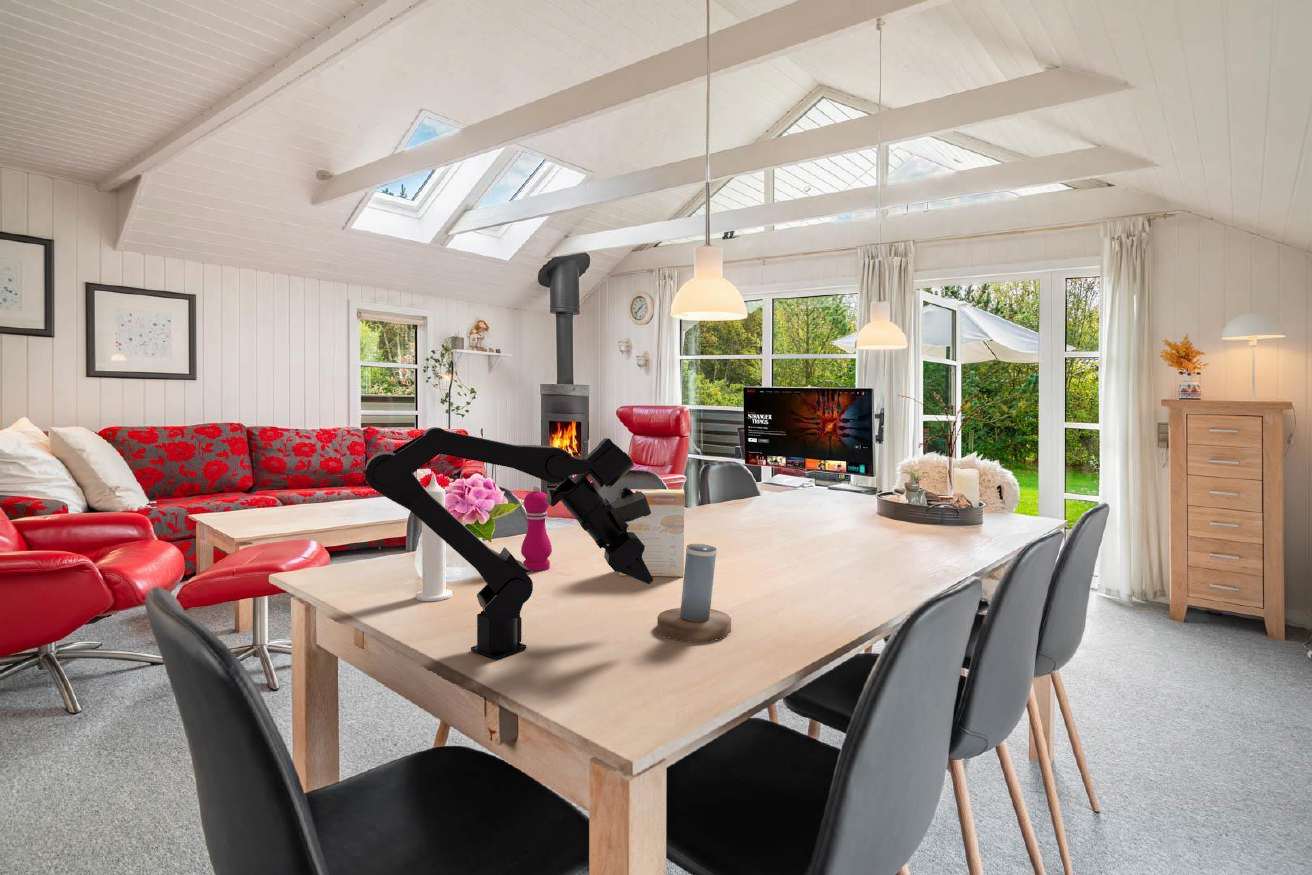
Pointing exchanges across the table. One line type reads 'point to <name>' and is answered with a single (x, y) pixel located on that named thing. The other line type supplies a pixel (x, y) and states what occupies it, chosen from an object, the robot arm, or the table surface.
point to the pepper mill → (536, 532)
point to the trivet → (693, 626)
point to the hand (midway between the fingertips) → (644, 572)
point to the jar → (698, 582)
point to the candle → (433, 555)
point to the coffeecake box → (662, 532)
